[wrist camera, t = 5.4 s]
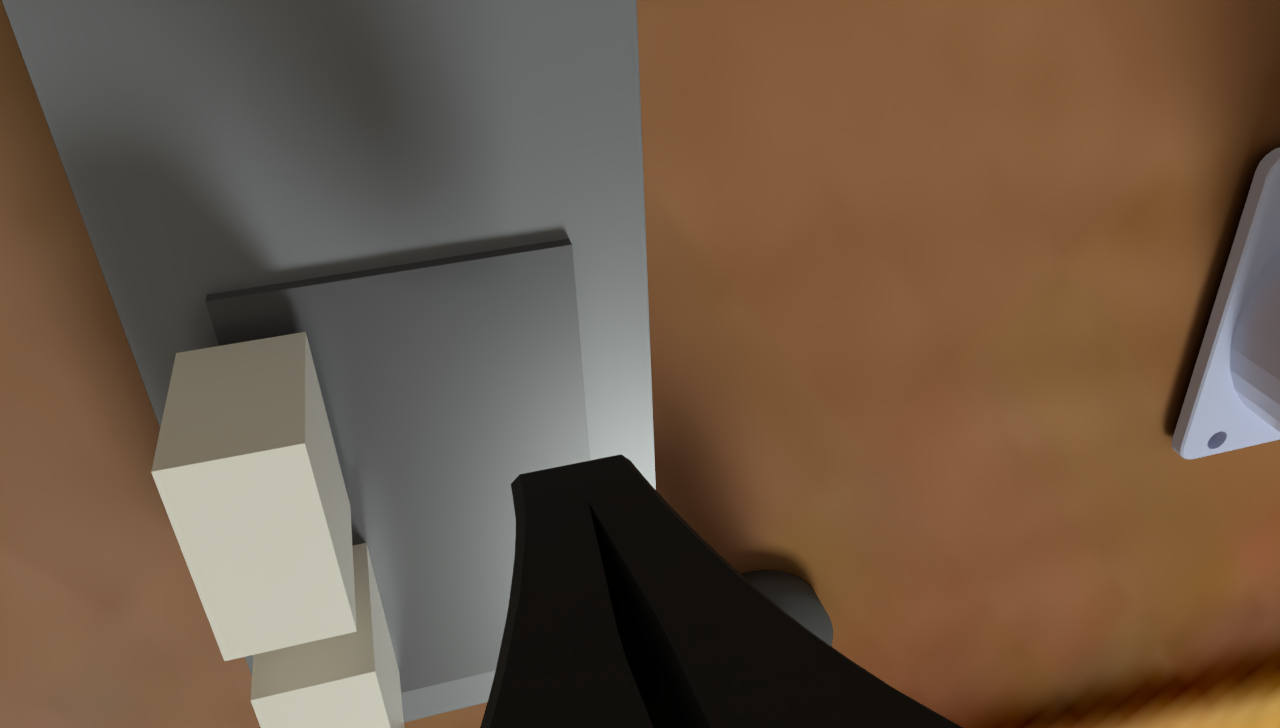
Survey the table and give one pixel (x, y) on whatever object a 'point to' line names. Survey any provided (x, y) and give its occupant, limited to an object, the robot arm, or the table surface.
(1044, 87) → the table surface
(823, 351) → the table surface
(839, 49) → the table surface
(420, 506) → the block
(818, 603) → the cord stand
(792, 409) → the table surface
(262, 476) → the block
